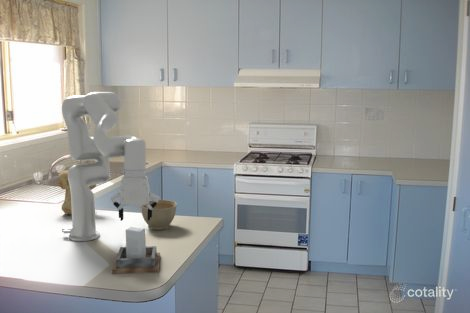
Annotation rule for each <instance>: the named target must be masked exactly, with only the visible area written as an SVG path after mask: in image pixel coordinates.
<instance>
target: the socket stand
mask: <svg viewBox="0 0 470 313" xmlns="http://www.w3.org/2000/svg"><path fill="white" fill-rule="evenodd" d="M160 259H161V252H157V245H156V246H155V245H154V246H146V258H126V246H120V247H119V250H118V253H117V254H116V257H115V260H114V263H113V265H112V268H111V274H113V275H114V274H116V275H117V274H138V273H139V274H140V273H141V274H143V273H144V274H145V273H146V274H147V273H159V269H160Z"/></svg>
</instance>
